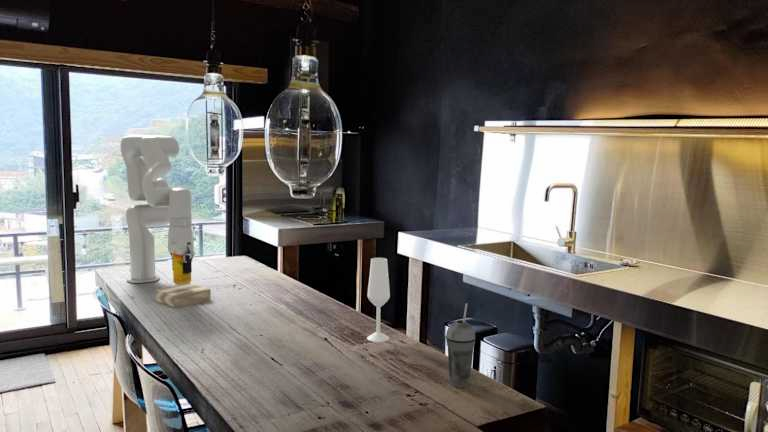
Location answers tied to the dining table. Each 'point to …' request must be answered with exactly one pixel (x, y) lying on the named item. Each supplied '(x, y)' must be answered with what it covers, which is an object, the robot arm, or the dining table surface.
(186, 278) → the beer can
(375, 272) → the champagne flute
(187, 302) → the birch plinth
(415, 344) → the dining table surface
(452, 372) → the beverage cup
